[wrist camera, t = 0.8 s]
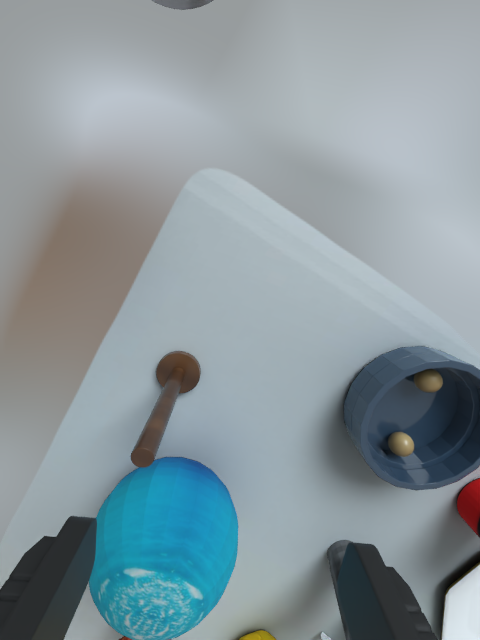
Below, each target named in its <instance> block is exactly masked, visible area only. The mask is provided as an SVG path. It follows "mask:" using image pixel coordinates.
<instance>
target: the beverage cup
mask: <svg viewBox="0 0 480 640" xmlns="http://www.w3.org/2000/svg"><path fill="white" fill-rule="evenodd" d="M350 542H351V541H347V540H342V541H338V542H336V543H334V544H333V545H331V546H330V548H329V549H328V552H327V556H328V560H329V565H330V572H331V576H332V580H333V585H334V589H335V593H336V597H337V602H338V606H339V610H340V614H341V619H342V623H343V627H344V632H345V636H346V640H351V637H350V634H349V631H348V628H347V624H346V621H345V618H344V615H343V611H342V608H341V605H340V601H339V597H338V589H337V580H338V575H339V571H340V568H341V564H342V561H343V558H344V554H345V551H346V547H347V545H348V543H350ZM351 543H353V542H351Z"/></svg>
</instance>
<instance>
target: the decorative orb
mask: <svg viewBox="0 0 480 640" xmlns="http://www.w3.org/2000/svg"><path fill="white" fill-rule="evenodd" d="M96 519H97V533H96V554H95V561H94V566H93V569H92V573H91V576H90V579H89V587H90V593H91V595H92V598H93V601H94V603H95V605H96V607H97V608H98V610H99V612H100V614H101V615H102V617H103V618H104V620H105V621H106V622H107V623H108V624H109V625H110V626H111V627H112V628H113V629H115V630H116V631H117V632H118V633H120V634H122V635H124V636H126V637H128V638H130V639H132V640H169V639H172V638H176V637H178V636H180V635H182V634H184V633H186V632H187V631H189V630H191V629H192V628H194V627H195V626H196V625H198V624H199V623H200V622H201V621H202V620H203V619H204V618H205V617H206V616H207V615H208V614H209V612H210V611H211V610H212V609H213V608H214V607H215V606H216V605H217V603H218V601H219V600H220V598H221V596H222V595H223V593H224V590H225V588H226V586H227V584H228V581H229V579H230V577H231V574H232V572H233V569H234V566H235V562H236V557H237V546H238V520H237V514H236V511H235V508H234V505H233V502H232V500H231V497H230V494H229V492H228V490H227V488H226V486H225V485H224V484H223V483H222V481H221V480H220V479H219V478H218V477H217V475H216V474H215V473H214V472H213V471H212V470H211V469H209V468H207V467H206V466H204V465H203V464H201V463H199V462H197V461H194V460H190V459H187V458H183V457H164V458H161V459H157V460H154V461H153V463H152V464H151V465H150V466H148V467H144V468H142V467H139V468H137V469H136V470H134V471H133V472H131V473H129V474H128V475H127V476H126V477H124V478H123V479H122V480H121V481H120V483H119V484H118V485H117V486H116V487H115V489H114V490H113V491H112V492H111V494H110V495H109V496H108V497H107V499H106V500H105V502H104V503H103V505H102V506H101V508H100V510H99V512H98V515H97V517H96Z"/></svg>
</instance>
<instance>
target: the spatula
mask: <svg viewBox="0 0 480 640" xmlns="http://www.w3.org/2000/svg"><path fill="white" fill-rule="evenodd" d="M320 637H321V640H332V639H331V638H329V637H328V636H327V635H326V634H324V633H323V632H321V635H320Z"/></svg>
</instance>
